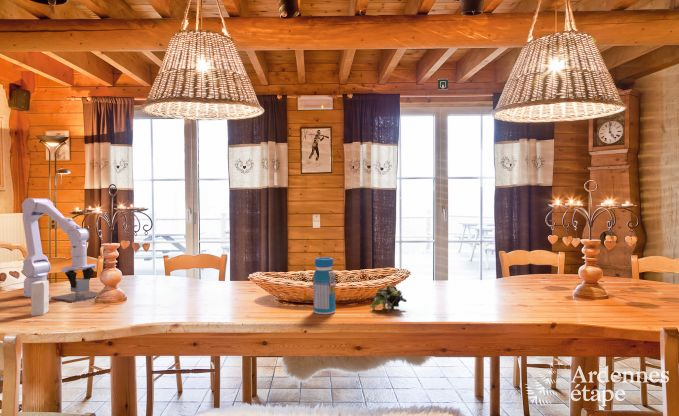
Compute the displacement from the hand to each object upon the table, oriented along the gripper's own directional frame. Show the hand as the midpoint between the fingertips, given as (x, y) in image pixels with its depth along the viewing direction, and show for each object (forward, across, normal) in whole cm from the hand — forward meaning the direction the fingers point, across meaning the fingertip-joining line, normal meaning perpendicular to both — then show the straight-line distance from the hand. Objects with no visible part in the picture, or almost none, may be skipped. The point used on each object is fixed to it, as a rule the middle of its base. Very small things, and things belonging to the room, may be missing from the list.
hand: (79, 286), depth 201 cm
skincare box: (+5, -25, -17) cm, 31 cm away
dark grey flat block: (+5, 0, 0) cm, 5 cm away
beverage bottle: (+5, +26, -111) cm, 114 cm away
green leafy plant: (+5, +39, -131) cm, 137 cm away
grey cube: (+2, 0, 0) cm, 2 cm away
